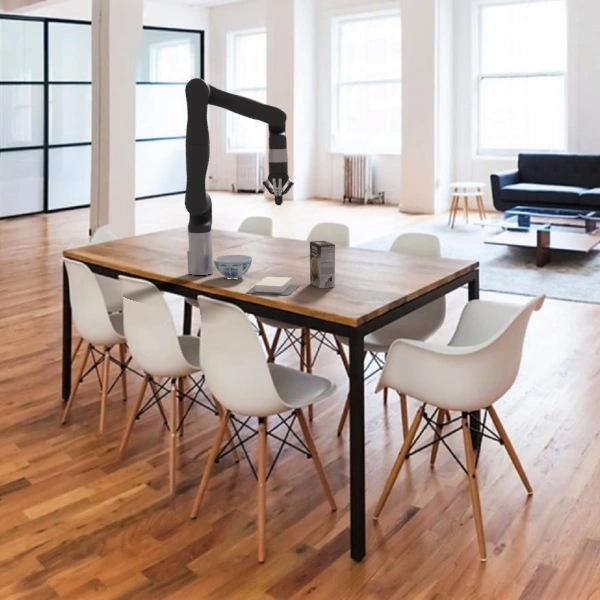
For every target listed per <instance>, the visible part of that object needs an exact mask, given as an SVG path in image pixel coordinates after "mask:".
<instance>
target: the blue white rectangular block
mask: <svg viewBox="0 0 600 600" xmlns="http://www.w3.org/2000/svg"><path fill="white" fill-rule="evenodd" d="M291 285H293V277H286V276H285V277H283V276H282V277H281V276H280V277H279V276H265V277H264V278H262V279H260V281H258V282H257V283H255V284H254V286H255V291H256V292H271V293H282V292H284V291H285V290H286V289H287V288H288V287H289V286H291Z"/></svg>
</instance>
